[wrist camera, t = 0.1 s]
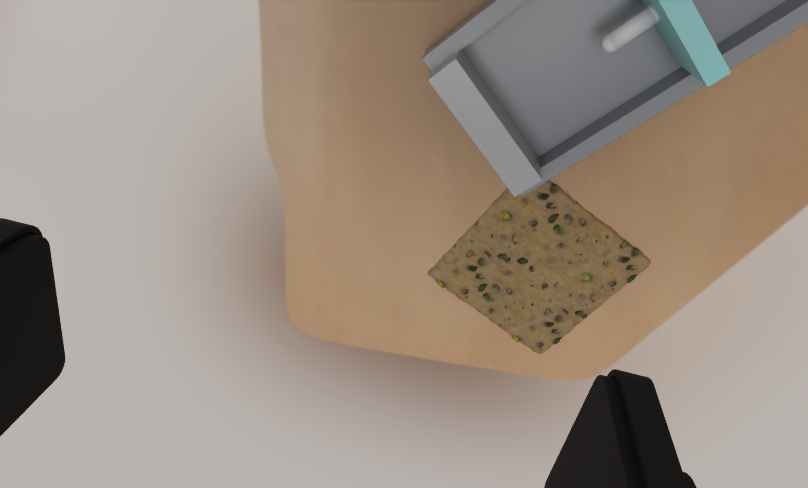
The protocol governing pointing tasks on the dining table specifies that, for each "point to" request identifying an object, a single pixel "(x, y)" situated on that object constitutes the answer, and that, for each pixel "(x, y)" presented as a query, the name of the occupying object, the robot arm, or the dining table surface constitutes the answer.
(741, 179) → the dining table surface
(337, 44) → the dining table surface
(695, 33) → the pusher plate
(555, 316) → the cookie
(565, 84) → the tray
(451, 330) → the dining table surface
